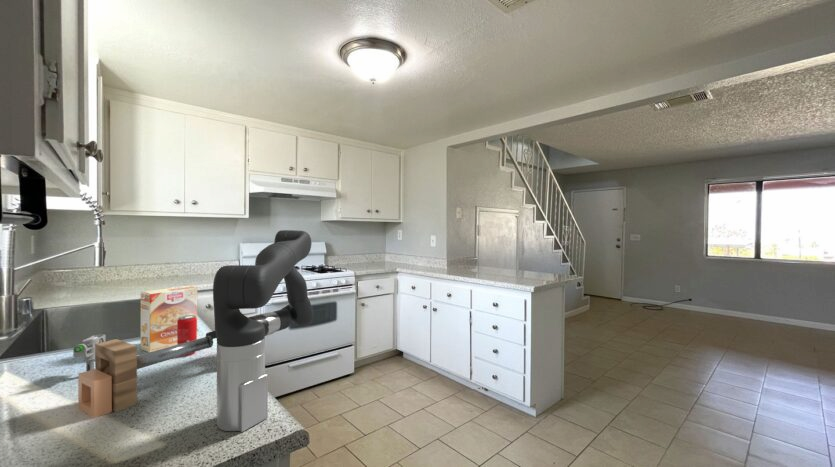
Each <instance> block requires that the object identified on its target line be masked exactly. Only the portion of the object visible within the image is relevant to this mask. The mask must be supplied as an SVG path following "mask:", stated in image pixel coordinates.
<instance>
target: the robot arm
mask: <svg viewBox="0 0 835 467" xmlns="http://www.w3.org/2000/svg"><path fill="white" fill-rule="evenodd" d="M311 248H312V238H311V235H310V234H309V232H307V231H304V230H292V229H291V230H290V229H289V230H288V229H283V230H278V231H277V233H276V234H275V237H274V242H273V243H271V244H268V245H267V246H266V247H264V248H263V249H261V250H260V251H259V252H258V253H257V255H256V258H255V260H254V262H255V263H254V265H253V264H252V265H251V264H250V265H249V264H248V265H246V264H244V265H243V264H242V265H241V264H237V265H236V264H235V265H234V264H232V265H223V266H221V267H219V269H217V271H216V273H215V275H214V278H213V286H212V297H213V298H212V300H213V313H214V315H213V316H214V330H211V331H209V332H206V333H205V337H206V336H211V337H212V339H213V340H215V339H216V426H217V428H218V429H219V430H221V431H225V432H236V431H237V432H241V433H243V432H245V431H247V430H248V429H250V428H252V427H253V426H255V425H257V424H259V423H261V422H263V421H264V420H266V419H268V417H269V415H268V411H269V410H268V409H269V408H268V407H269V406H268V399H269V398H268V395H269V392H268V391H269V387H268V386H269V384H268V382H269V377H268V376H269V375H268V374H266V337H268V336H270V335H272V334H274V333H277V332H279V331H283V330H286V329H288V328H290V327H291V324H292V323H294V324H296V325H297V326H299V327H302V328H303V327H308V326H309V325H311V323H312V322H313V319H314V316H315V314H314V308H313V305H312V303H311V301H310V299H309V297H308V286H307V282H306V279H305V278H304V277H303V276H304V275H302V274H301V273H300V272H299V271H298V270H297V268H296V267H295V266H296V265H297V264H298V263H299V262H301V261H302V260H304V259H305V258H307V256H309V255H310V252H311ZM283 280H284V284H285V289H286V296H287V301H288V304H287V305H285V306H284V307H282V308H281V309H278V310H274V311H271V312H270V311H269V312H264V313H261V314H256V315H253V316H249V317H248V316H246V315H245V314H243V313H242V312H241V309H242V310H245V309H247V310H249V309H250V310H252V309H253V310H254V309H260V308H263V307H264V306H266V305H267V304H268V303H269V302H270V301H271V299H272V297H273V295H274V293H275V292H276V290H277V289H278V286H279V285H280V283H282V281H283Z"/></svg>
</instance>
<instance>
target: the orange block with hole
mask: <svg viewBox="0 0 835 467" xmlns="http://www.w3.org/2000/svg"><path fill="white" fill-rule="evenodd" d="M77 378H78V382H77V385H78V386H77V387H78V389H77V390H78V399H77V400H78V404H77V405H78V410H80V411H82V412H83V413H85V414H86V415H88V416H90V417H92V418H93V419H96V418H99V417H101V416H105V415H107V414H109V413H112V412H113V410H112V376H110V375H108V374H105V373H103V372H101V371H99V370H97V369H95V368H94V370H90V371H87V372H86V371H84V372H80V373H78V374H77ZM98 416H99V417H98Z"/></svg>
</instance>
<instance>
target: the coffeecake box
mask: <svg viewBox="0 0 835 467" xmlns="http://www.w3.org/2000/svg"><path fill="white" fill-rule="evenodd" d="M187 315H194V316H196V318H197V319H198V287H196V286H191V285H185V286H175V287H169V288H168V287H167V288H160V289H153V290H146V291H140V350H142V351H144V352H146V353H149V352H152V351H156V350H160V349H163V348H167V347H171V346H174V345H177V321H178V318H179V317H182V316H187Z"/></svg>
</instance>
